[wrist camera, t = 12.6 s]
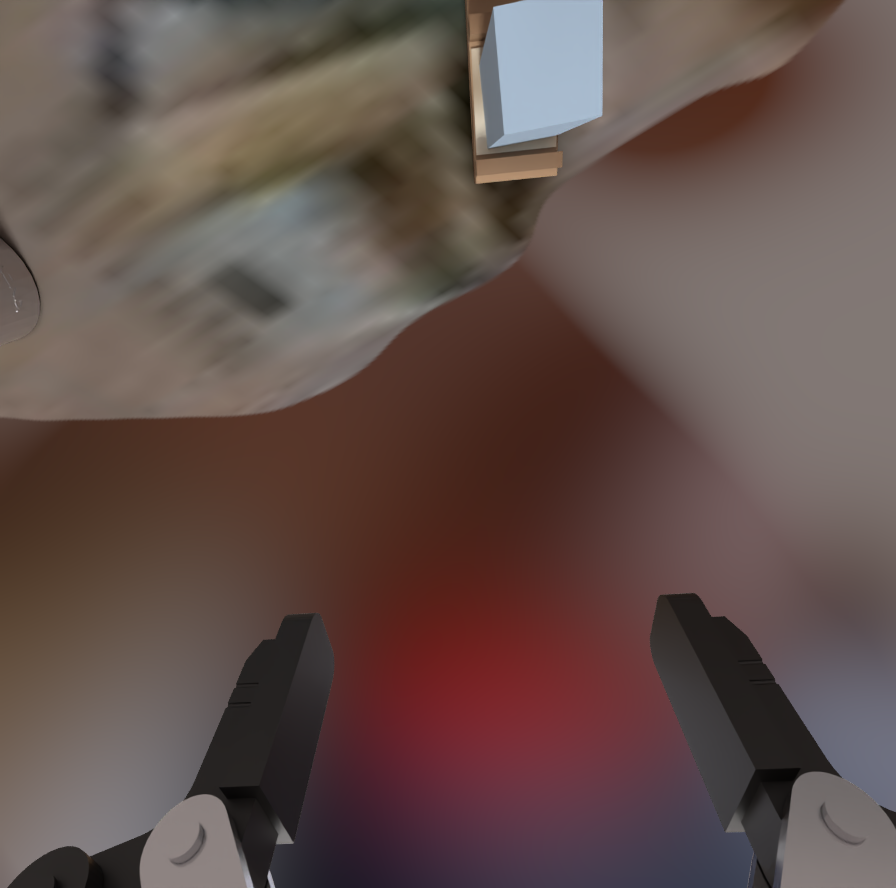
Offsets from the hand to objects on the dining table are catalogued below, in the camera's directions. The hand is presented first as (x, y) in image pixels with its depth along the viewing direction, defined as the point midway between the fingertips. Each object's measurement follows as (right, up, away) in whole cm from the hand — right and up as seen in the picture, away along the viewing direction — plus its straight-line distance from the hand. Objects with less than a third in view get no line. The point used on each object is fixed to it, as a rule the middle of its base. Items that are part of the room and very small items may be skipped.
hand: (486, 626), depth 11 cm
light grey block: (+3, +24, +15) cm, 29 cm away
